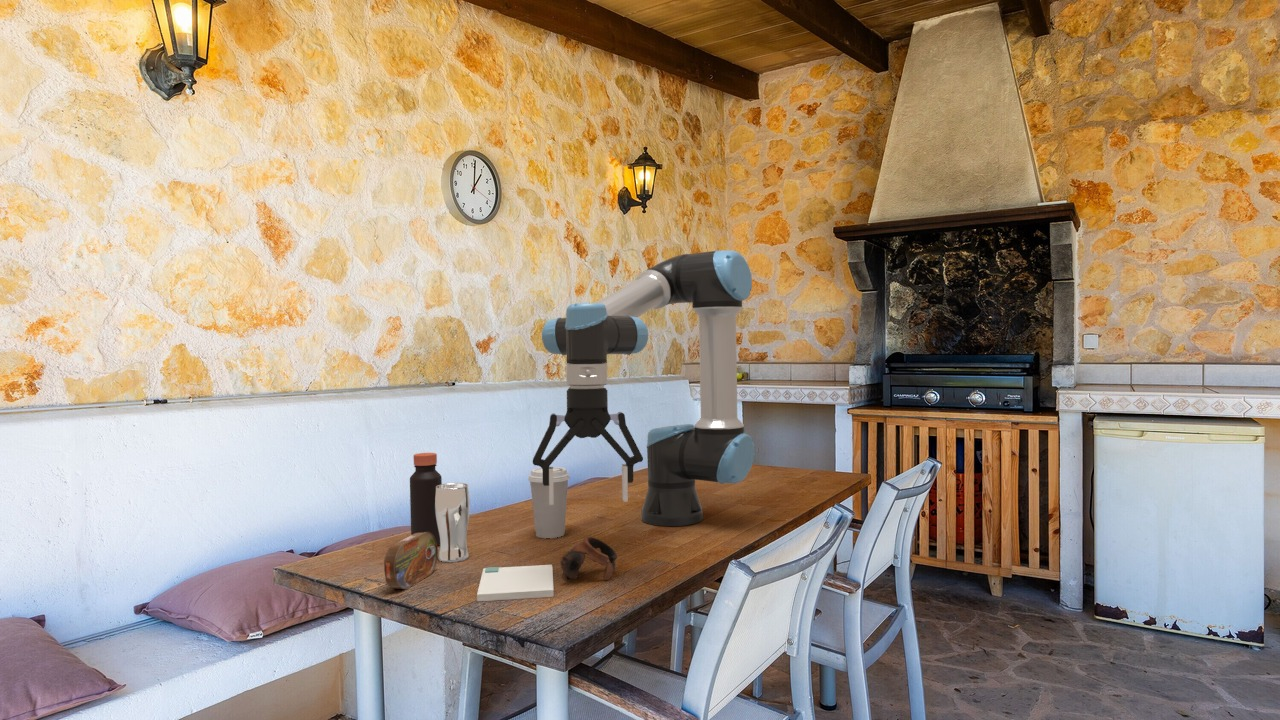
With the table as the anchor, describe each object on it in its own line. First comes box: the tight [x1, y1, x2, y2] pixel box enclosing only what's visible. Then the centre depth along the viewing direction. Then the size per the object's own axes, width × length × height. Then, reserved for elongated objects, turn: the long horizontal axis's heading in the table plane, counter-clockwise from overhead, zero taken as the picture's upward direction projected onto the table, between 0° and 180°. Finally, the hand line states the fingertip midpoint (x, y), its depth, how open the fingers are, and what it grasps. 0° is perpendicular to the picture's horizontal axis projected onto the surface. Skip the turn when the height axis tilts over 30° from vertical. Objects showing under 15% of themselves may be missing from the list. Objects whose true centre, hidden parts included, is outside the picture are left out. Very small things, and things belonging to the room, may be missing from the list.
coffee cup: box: [527, 466, 571, 539], centre depth 171 cm, size 10×10×15 cm
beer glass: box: [435, 482, 471, 563], centre depth 154 cm, size 7×7×15 cm
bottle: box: [409, 452, 443, 547], centre depth 165 cm, size 7×7×20 cm
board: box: [476, 564, 555, 602], centre depth 136 cm, size 13×15×2 cm
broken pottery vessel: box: [560, 536, 618, 581], centre depth 139 cm, size 12×10×8 cm
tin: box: [383, 532, 439, 590], centre depth 139 cm, size 15×3×8 cm, turn 166°
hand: (588, 502), depth 138 cm, fingers open, 13 cm apart
